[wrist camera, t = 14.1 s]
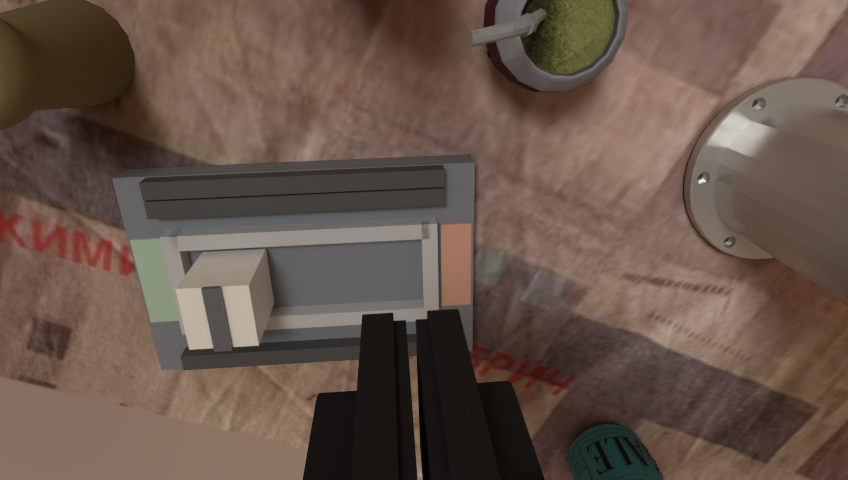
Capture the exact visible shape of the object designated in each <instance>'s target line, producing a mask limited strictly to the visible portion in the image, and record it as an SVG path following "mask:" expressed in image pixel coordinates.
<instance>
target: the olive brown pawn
mask: <svg viewBox="0 0 848 480" xmlns="http://www.w3.org/2000/svg"><path fill="white" fill-rule="evenodd" d="M133 72H134V55H133V50H132V47H131V45H130V42H129V39H128V37H127V35H126V33H125V32H124V30H123V29H122V28H121V26H120V25H119V23H118V22H117V21H116V20H115V19H114V18H113V17H112V16H111V15H109V14H108V13H107V12H106V11H105V10H103V9H102V8H101V7H99V6H97V5H94V4H92V3H90V2H88V1H86V0H48V1H44V2H41V3H37V4H33V5H29V6H25V7H21V8H18V9H14V10H10V11H6V12H2V13H0V130H4V129H7V128H10V127H13V126H15V125H16V124H18V123H20V122H21V121H23V120H24V119H26V118H28V117H29V116H30V115H31V114H32V112H33V111H34V110H46V109H60V108H73V107H87V106H96V105H101V104H107V103H110V102H111V101H113V100H115V99H116V98H118V97H120V96H121V95H122V94H123V92H124V91H125V90H126V89H127V87H128V86H129V85H130V82H131V79H132V75H133Z"/></svg>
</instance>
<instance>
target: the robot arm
mask: <svg viewBox="0 0 848 480" xmlns="http://www.w3.org/2000/svg"><path fill="white" fill-rule="evenodd" d="M698 176H699V177H698ZM684 198H685V203H686V209H687V212H688V215H689V217H690V219H691V222H692V224H693V225H694V227H695V228H696V229H697V231H698V232H699V233H700V235H701V236H702V237H703V238H705V239H706V240H707V241H708V242H710V243H711V244H712V245H713V246H715V247H716V248H718V249H719V250H721V251H723V252H725V253H727V254H730V255H733V256H736V257H739V258H746V259H771V258H776V259H777V260H779V261H780V262H782V263H783V264H785V265H787V266H788V267H790V268H791V269H793V270H794V271H796V272H797V273H799V274H800V275H802V276H804V277H805V278H807V279H808V280H810V281H811V282H813V283H814V284H816V285H817V286H819V287H820V288H822V289H824V290H825V291H827V292H828V293H830V294H831V295H833V296H834V297H836V298H837V299H839V300H840V301H842V302H844V303H845V304H847V305H848V89H847V88H845V87H844V86H842V85H840V84H838V83H835V82H832V81H828V80H825V79H820V78H813V77H806V76H802V77H786V78H781V79H777V80H773V81H769V82H766V83H764V84H762V85H759V86H757V87H755V88H752V89H750V90H749V91H747V92H745V93H744V94H742V95H741V96H739V97H738V98H736V99H734V100H733V101H732V102H731V103H730V104H728V105H727V106H726V107H725V108H724V109H723V110H722V111H720V112H719V113H718V114H717V116H716V117H715V118H714V119H713V120H712V121H711V123H710V124H709V125H708V126H707V127H706V129H705V130H704V132H703V133H702V135H701V137H700V138H699V140H698V142H697V143H696V145H695V147H694V150H693V152H692V154H691V157H690V159H689V162H688V166H687V171H686V175H685V181H684ZM416 346H417V373H418V400H419V427H420V449H421V463H422V475H423V480H544V477H543V474H542V471H541V468H540V465H539V462H538V459H537V456H536V453H535V450H534V447H533V445H532V442H531V439H530V436H529V433H528V430H527V427H526V424H525V421H524V418H523V415H522V412H521V409H520V406H519V403H518V400H517V397H516V394H515V392H514V389H513V386H512V384H511V383H510V382H509V381H501V382H485V383H477V382H476V378H475V374H474V370H473V366H472V362H471V358H470V354H469V350H468V345H467V341H466V337H465V333H464V329H463V325H462V321H461V317H460V313H459V310H458V309H447V310H430V311H427V319H416ZM303 480H417V468H416V454H415V440H414V426H413V412H412V398H411V384H410V370H409V357H408V343H407V329H406V320H399V321H394V316H393V313H378V314H363V315H362V324H361V339H360V353H359V368H358V383H357V391H346V392H330V393H319V394H318V396H317V400H316V405H315V411H314V417H313V423H312V428H311V434H310V440H309V446H308V452H307V458H306V464H305V470H304V476H303Z"/></svg>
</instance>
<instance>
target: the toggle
mask: <svg viewBox="0 0 848 480" xmlns="http://www.w3.org/2000/svg"><path fill="white" fill-rule="evenodd" d="M175 290H176V294H177V299H178V303H179V307H180V312H181V316H182V320H183V325H184V329H185V333H186V338H187V342H188V346H189V350H194V349H211V348H213V349H214V352H221V351H232V349H233V347H245V346H259V344H260V341H261V338H262V336H263V333H264V330H265V328H266V325H267V322H268V319H269V317H270V314H271V311H272V308H273V306H274V297H273V291H272V284H271V278H270V271H269V265H268V258H267V251H266V249H250V250H230V251H211V252H202V253H201V255H200V256H199V257H198V259H197V260H196V262H195V263H194V264H193V266H192V267H191V268H190V270H189V271H188V272H187V274H186V275H185V277H184V278H183V279H182V281H181V282H180V283H179V285H178V286H177V287H176V289H175Z"/></svg>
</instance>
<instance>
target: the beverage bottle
mask: <svg viewBox="0 0 848 480" xmlns="http://www.w3.org/2000/svg"><path fill="white" fill-rule="evenodd" d="M636 435H637V434H636ZM636 435H635V434H634V432H632V431H631V430H629V429H628V428H626V427H624V426H621V425H616V424H603V425H598V426H595V427H592V428H590V429H588V430H586V431H584V432H583V433H581V434H580V435H579V436H578V437H577V438H576V439H575V440H574V442H573V443H572V445H571V446H570V449H569V452H568V465H569V469H570V471H571V474H572V476H573V479H574V480H663V478H662V476H661V475H663V474H660V472H658V471H659V469H658V468H659V467H658V468H657V466H655V465H656V462H655V461H654V460H653V457H651V455H650V454H649V453H650V452H648V449H647V450H646V445H645V447H644V445H643V444H642V443H641V441H640V439H639V438H638V437H637V436H636ZM642 441H643V440H642ZM648 454H649V455H650V456H649V455H648ZM650 457H651V458H652V460H653V461H654V463H655V465H654V463H653V461H652V460H651V458H650ZM661 473H662V472H661Z"/></svg>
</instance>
